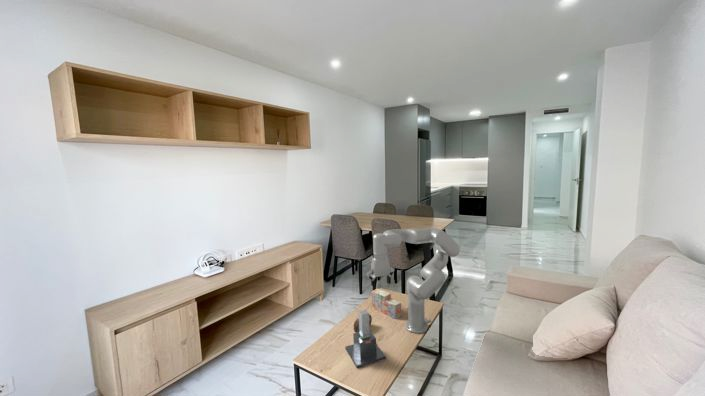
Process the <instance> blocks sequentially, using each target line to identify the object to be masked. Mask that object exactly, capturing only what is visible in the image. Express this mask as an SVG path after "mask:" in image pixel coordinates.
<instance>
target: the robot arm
mask: <svg viewBox="0 0 705 396" xmlns="http://www.w3.org/2000/svg"><path fill="white" fill-rule="evenodd" d="M372 239H373V241H372V242H373V244H372V247H373V257H372V258H371V264H370V265H371V266H370V270H368V271H367V272H366V276H367V278H368V279H370V285H371V287H372V288H376V278H377V277H378V278H379V277H383V276H386V283H387V284H388V285H391V283H392V279H391V278H392V276H393V274H394V272H395V268H394V267H392V266H390V261H389V257H388V256H389V255H390V252H388V247H389V248H396V247H399V246H400V245H401V244H402V242H404V243H408V244H414V245H419V244H428V243H434V244H435V254H434V256H433V257H432V258H431V259H430V260H429V261H428V262H427V263H426V264H425V265H424V266H423V267H422V268H421V270H420V276H421V277H422V278H423V279H422V278H421V277H419V276H417V275H411V276H409V277H408V278H407V279H406V285H405V286H406V291H407V312H408V313H407V315H408V317H407V318H408V321H407V322H406V323H405V328H406V330H407V331H408V332H410V333H413V334H423V333H425V332H427V330H428V324H431V323H432V319H431V318H427V317H425V315H426V314H425V300H427V299H429V298H431V297H432V296H433V295H434V294H435V292H437V291H438V290H439V289H440V288H441V287H442V285H444V283H445V281H446V274H445V273H444V271H443V270H444V269H445V267H446V266H447V264H448V262H449V257H451V258H455V257H457V256H458V255H459V254H460V253H461V252H460V251H461V247H460V244H458V243H457V242H456V241H455V240H454V239H453V238H452V237H451V236H450V235H449V234H448V233H446V232H445V231H444V230H442V229H440V228H436V227H424V228H415V229H414V228H410V229H409V228H396V229H387V230H385V231H383V233H375V234H374V235H373V236H372Z"/></svg>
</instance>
